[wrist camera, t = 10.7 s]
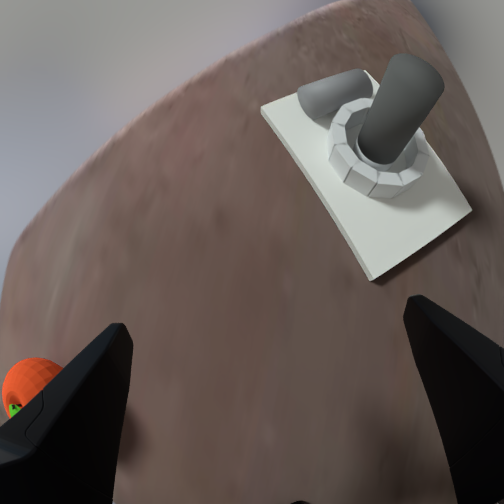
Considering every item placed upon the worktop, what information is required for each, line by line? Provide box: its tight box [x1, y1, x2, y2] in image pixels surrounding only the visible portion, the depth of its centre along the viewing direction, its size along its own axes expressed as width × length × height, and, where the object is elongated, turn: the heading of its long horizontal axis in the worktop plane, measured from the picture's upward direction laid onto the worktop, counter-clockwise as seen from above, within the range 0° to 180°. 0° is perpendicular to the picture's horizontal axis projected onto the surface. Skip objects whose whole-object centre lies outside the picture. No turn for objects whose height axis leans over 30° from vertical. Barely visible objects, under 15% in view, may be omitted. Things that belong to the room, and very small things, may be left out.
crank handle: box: [353, 54, 444, 172], centre depth 19 cm, size 4×4×10 cm
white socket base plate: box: [261, 69, 472, 281], centre depth 23 cm, size 17×12×4 cm
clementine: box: [2, 358, 63, 418], centre depth 18 cm, size 8×7×7 cm
